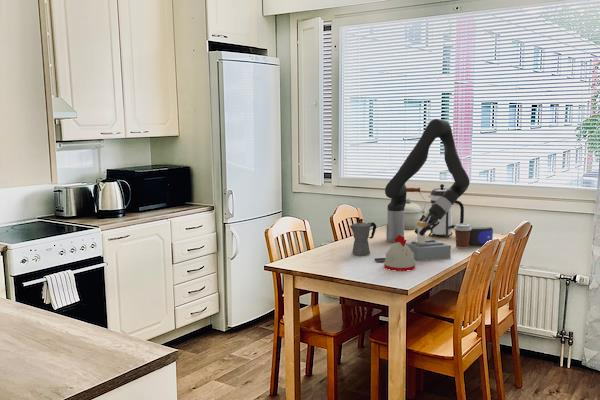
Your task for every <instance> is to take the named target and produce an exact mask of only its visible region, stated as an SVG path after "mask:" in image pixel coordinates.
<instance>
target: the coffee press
mask: <svg viewBox="0 0 600 400" xmlns="http://www.w3.org/2000/svg"><path fill="white" fill-rule="evenodd" d="M444 187H445V185H444V184H440V186H439V187H437V188H434V189H432V190H431V192H430V194H429V195H428V198H430V208H431V207H432V205H433V204H434V203H435V202H436V201H437V200H438V199H439V198H440V197H441V196H442V195H443V194H444V192H445V191H446V190H448V189H449V188H444ZM455 204H456V205H458V206H459V207H460V215H459V217H460V219H459V224H464V221H465V220H464V219H465V218H464V215H465V209H464V203H462V202H461V201H460V200H458V199H457V200H456V202H455V203H454V205H455ZM438 221H439V222H440V223H439V224H438V225H437V226H436V227H434V228H433V229H432V230H429V231H430V232H429V235H428V236H429V237H430V238H431V237H434V236H435V235H438V236H445V238H446V239H449V238H450V236H452V235H453V234H454V233H453V232H452V229H454V227H455V226H456V224H454V225H453V205H452V206H451V208H450V209H449V211H448V212H447V213H446V214H445V215H444V216H443V218H442V219H441V220H439V219H438ZM434 224H435V223H434ZM449 235H450V236H449Z"/></svg>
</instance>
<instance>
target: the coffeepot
mask: <svg viewBox="0 0 600 400" xmlns="http://www.w3.org/2000/svg"><path fill="white" fill-rule="evenodd" d="M363 220H364V219H363V218H360V219H359V222H356V223H353V224H351V225H349V229H351V231H352V232H353V238H354V241H353V247H352V250H351V251H352V253H351V254H352V255H353V256H357V257H365V256H366V255H367V256H369V254H370V255H371V252H370V245H369V239H370V240H371V239H373V238H374V236H375V232H376V229H377V225H376V223H375V222H363ZM371 227H372V231H371V230H370V229H371ZM370 231H371V236H370Z"/></svg>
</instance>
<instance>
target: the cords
mask: <svg viewBox="0 0 600 400" xmlns="http://www.w3.org/2000/svg"><path fill="white" fill-rule="evenodd" d="M385 258H386V257H377V258H376V257H375V258H374V261H375V262H376V263H385Z"/></svg>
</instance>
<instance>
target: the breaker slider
mask: <svg viewBox="0 0 600 400" xmlns="http://www.w3.org/2000/svg"><path fill="white" fill-rule="evenodd" d="M425 225H426V222H422V221H419V222H417V228H416V229H417V234H416V235H417V237H416V240H415V241H414V242H415V244H417V245H422V244H428V243H426V242H425V241H426V233H425V234H424V235H423V236H421V235H420V234H419V232H420V231H421V230H422V229H423V228H424V227H425Z"/></svg>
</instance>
